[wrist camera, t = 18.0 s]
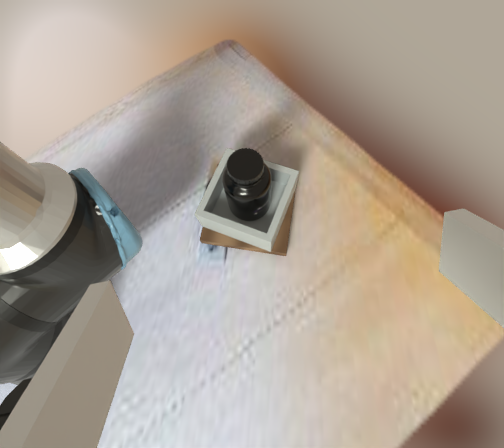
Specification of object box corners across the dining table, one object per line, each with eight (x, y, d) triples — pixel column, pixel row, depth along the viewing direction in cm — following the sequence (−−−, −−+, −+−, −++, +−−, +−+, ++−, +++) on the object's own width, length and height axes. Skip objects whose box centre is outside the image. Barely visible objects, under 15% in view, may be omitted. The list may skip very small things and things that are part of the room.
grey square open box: (201, 226, 52) (194, 214, 47) (230, 165, 55) (226, 147, 50) (270, 252, 50) (271, 242, 45) (296, 187, 53) (299, 171, 48)
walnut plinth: (202, 244, 53) (199, 240, 51) (219, 171, 58) (217, 164, 56) (285, 257, 52) (286, 253, 50) (296, 181, 56) (297, 174, 54)
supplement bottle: (269, 224, 50) (269, 191, 38) (226, 220, 50) (214, 187, 39) (272, 184, 52) (273, 142, 41) (231, 182, 53) (221, 139, 41)
